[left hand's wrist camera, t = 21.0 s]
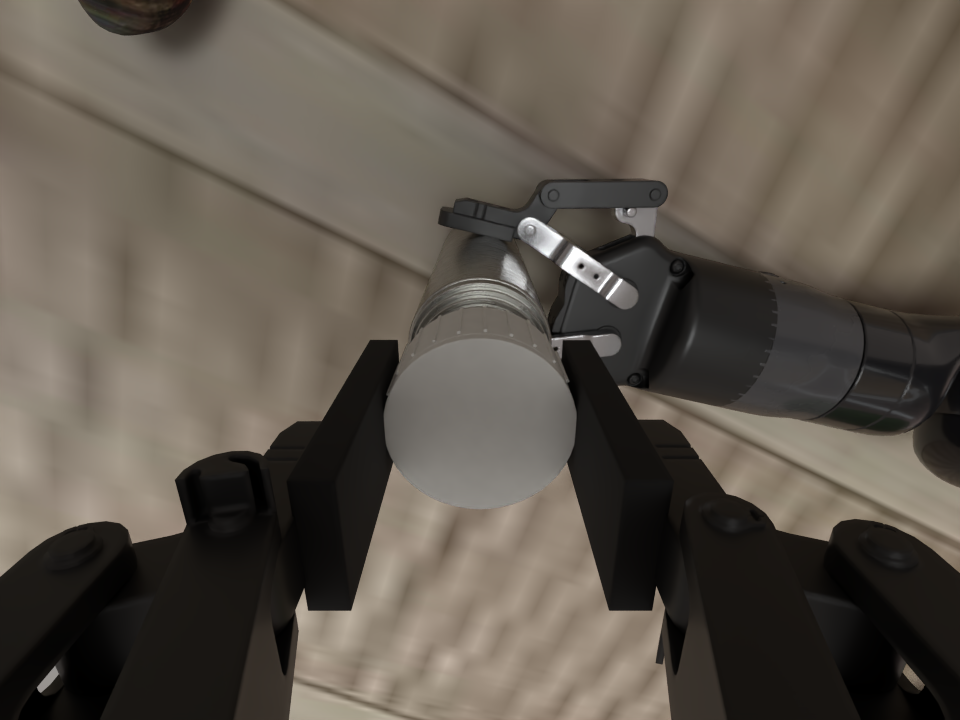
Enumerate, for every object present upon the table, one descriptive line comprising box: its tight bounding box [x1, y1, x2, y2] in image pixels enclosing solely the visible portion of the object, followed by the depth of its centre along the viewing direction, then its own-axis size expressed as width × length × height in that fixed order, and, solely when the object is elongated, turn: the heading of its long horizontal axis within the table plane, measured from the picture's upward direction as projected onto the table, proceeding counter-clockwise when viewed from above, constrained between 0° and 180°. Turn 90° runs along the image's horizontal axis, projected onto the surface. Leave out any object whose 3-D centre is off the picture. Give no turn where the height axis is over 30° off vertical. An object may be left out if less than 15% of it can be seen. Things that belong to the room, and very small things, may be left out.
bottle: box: [409, 229, 552, 345], centre depth 23 cm, size 5×5×21 cm
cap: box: [384, 306, 577, 509], centre depth 13 cm, size 5×5×3 cm
